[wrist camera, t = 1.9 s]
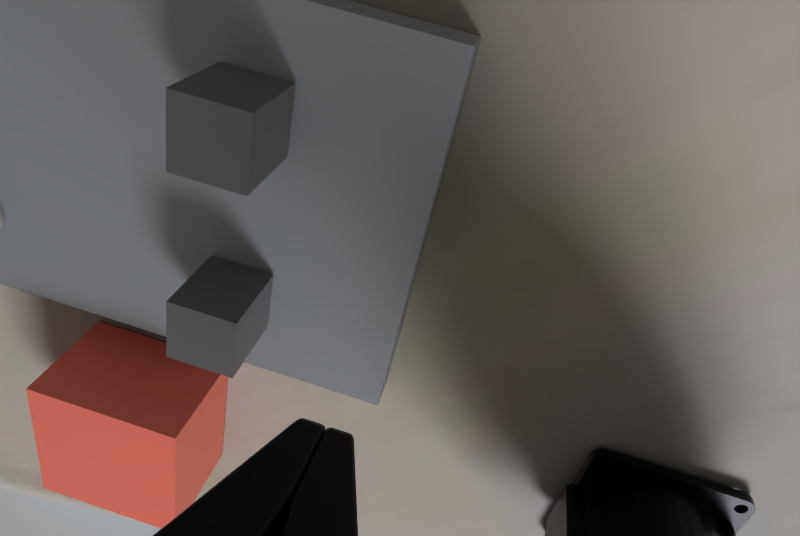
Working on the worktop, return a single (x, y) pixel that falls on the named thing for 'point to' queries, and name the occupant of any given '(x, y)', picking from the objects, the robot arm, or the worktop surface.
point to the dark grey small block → (218, 315)
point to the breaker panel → (217, 208)
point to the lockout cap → (127, 425)
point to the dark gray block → (228, 126)
